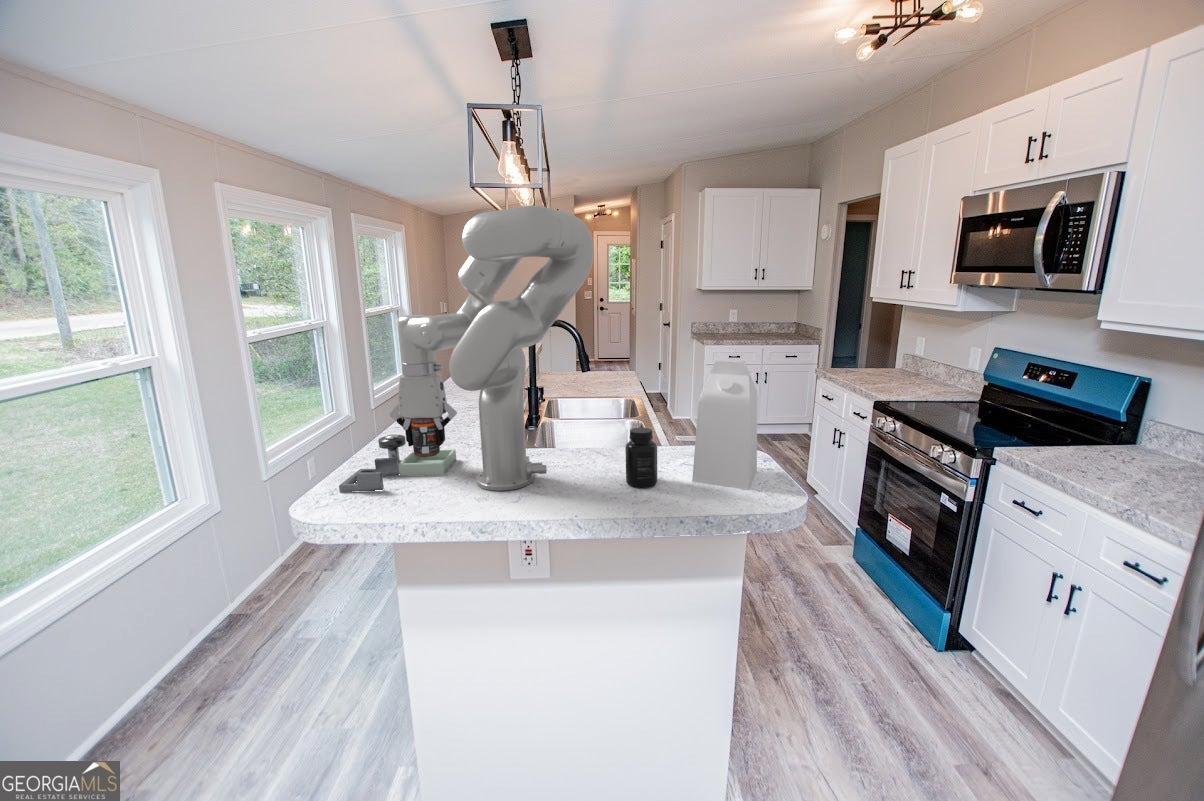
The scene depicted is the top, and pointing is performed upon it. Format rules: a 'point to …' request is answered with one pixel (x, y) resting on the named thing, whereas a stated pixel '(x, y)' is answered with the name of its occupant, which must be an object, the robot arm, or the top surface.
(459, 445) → the top surface
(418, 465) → the tray
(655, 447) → the supplement bottle
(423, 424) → the supplement bottle
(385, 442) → the pulley
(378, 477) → the bracket
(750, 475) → the milk
